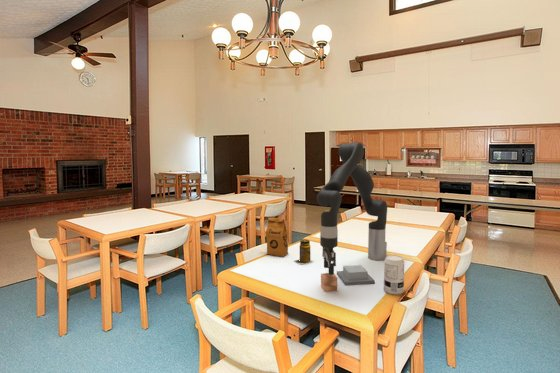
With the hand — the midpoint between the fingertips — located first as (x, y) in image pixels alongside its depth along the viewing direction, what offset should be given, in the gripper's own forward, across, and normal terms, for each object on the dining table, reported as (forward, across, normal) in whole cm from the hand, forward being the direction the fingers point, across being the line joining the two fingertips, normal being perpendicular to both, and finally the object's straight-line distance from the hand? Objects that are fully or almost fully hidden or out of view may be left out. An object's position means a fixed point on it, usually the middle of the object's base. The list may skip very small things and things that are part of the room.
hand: (328, 270), depth 150 cm
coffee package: (+8, +52, +18) cm, 56 cm away
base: (+8, +9, -15) cm, 19 cm away
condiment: (+8, +37, +5) cm, 38 cm away
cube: (+8, 0, 0) cm, 8 cm away
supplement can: (+8, -7, -27) cm, 29 cm away
